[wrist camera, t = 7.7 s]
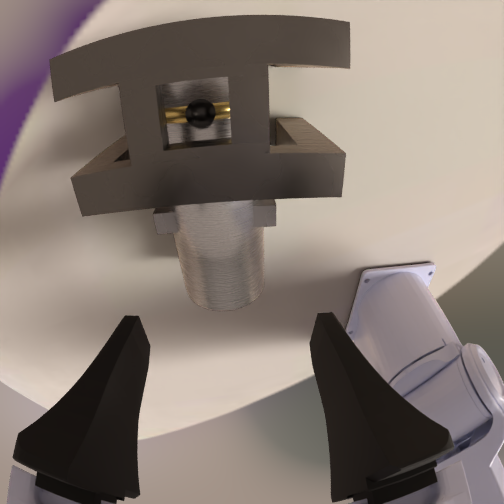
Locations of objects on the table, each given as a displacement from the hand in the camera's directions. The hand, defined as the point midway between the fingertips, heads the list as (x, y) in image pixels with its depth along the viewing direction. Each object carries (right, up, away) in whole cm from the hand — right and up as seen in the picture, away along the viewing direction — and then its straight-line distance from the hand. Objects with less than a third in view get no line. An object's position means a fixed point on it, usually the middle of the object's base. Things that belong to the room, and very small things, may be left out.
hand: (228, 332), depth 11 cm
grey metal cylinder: (-1, +9, +6) cm, 11 cm away
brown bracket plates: (-1, +12, +3) cm, 13 cm away
